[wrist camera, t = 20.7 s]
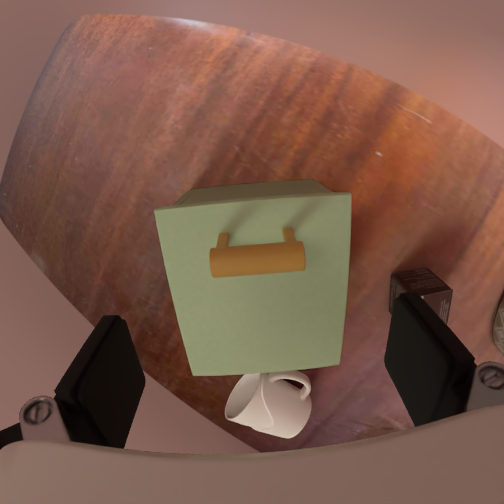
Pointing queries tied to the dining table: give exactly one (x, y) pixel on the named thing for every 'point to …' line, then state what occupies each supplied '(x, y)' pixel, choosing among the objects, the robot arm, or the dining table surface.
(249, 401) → the mug
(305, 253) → the lid
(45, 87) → the dining table surface
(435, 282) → the box
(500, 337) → the planter
